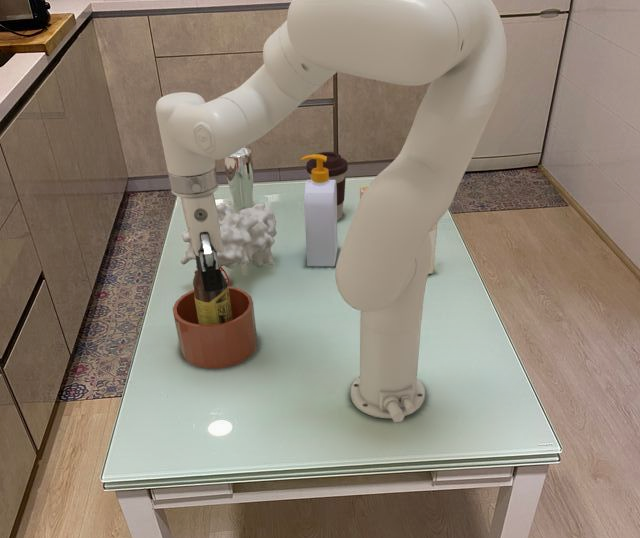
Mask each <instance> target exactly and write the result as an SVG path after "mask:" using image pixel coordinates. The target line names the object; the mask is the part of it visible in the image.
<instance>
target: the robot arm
mask: <svg viewBox="0 0 640 538" xmlns="http://www.w3.org/2000/svg"><path fill="white" fill-rule="evenodd" d="M507 45H508V44H507V37H506V32H505V27H504V24H503V21H502V18H501V15H500V13H499V11H498V9H497V7H496V5H495V4H494V2H493V0H291V2H290V4H289V5H288V10H287V15H286V20H285V21H284V22H283V23H282V24H281V25H280V26H279V27H278V28H277V29H276V30H275V31H274V32H273V33H272V34H271V35H270V36H268V37H267V39H266V40H265V42H264V44H263V48H262V60H263V64H262V65H261V66H260V67H259V68H258V69H257V70H256V71H255V72H254V73H253V74H252V75H251V76H250V77H249V78H248V79H246V81H244V82H243V83H242V84H241V85H239V87H237V88H235V89H233V90H230V91H229V92H226V93H225V94H222V95H221V96H218V97H216V98H214V99H212V100H209V101H207V102H206V101H205V99H204V97H203V96H202V95H200V94H198V93H196V92H189V91H183V92H182V91H180V92H173V93H168V94H166V95H163V96H161V97H160V98H159V99H158V100H157V101H156V104H155V113H156V114H155V115H156V120H157V125H158V129H159V134H160V139H161V144H162V149H163V154H164V160H165V165H166V170H167V175H168V180H169V184H170V185H169V186H170V191H171V193H172V195H174V196H175V197H179V198H180V201H181V206H182V207H181V208H182V212H183V215H184V221H185V225H186V228H187V229H186V230H187V231H188V233H189V236H190V239H191V243H192V246H193V249H194V252H195V255H197V256H200V261H201V266H202V270H201V275H202V280H203V286H204V291H205V292H211V291H217V290H222V289H223V283H222V277H221V272H222V271H220V270H221V269H220V267H219V266H218V261H217V256H216V252H217V253H219V252H220V253H222V252H223V251H224V248H223V243H222V237H221V231H220V225H219V219H218V213H217V207H216V206H217V203H216V199H215V195H214V193H215V192H216V191H218V189H219V186H220V185H219V179H218V172H217V166H216V161H220V160H221V161H222V160H225V158H227V157H229V156H231V155H232V154H234V153H236V152H237V151H239V150H241V149H242V148H246V147H247V146H249V145H250V144H252V143H254V142H256V141H258V140H259V139H261V138H262V137H264V136H265V135H267V134H268V133H269V132H270V131H272V130H273V129H274V128H275V127H276V126H277V125H279V123H281V122H282V121H284V119H286V118H288V116H289V115H291V113H293V112H294V111H295V110H296V109H297V108H298V107H299V106H300V105H301V104H302V103H303V102H306V101H307V100H308V98H309V97H310V96H311V95H313V94H314V93H315V92H317V90H319V88H321V87H322V86H323V85H324V84H326V82H327V81H328V80H330V79H331V78H332V77H333V76H334V75H335V74H337V73H342V74H346V75H349V76H350V75H351V76H356V77H359V78H364V79H369V80H373V81H379V82H383V83H388V84H393V85H398V86H405V87H416V86H423V85H426V84H429V83H430V85H429V86H428V89H427V91H426V93H425V95H424V97H423V99H422V101H421V103H420V104H419V106H418V109H417V111H416V114H415V116H414V120H413V122H412V125H411V127H410V130H409V132H408V135H407V137H406V139H405V141H404V144H403V146H402V148H401V149H400V152H399V154H398V155H397V156H396V158H394V159H393V161H392V162H391V163H390V164H389V165H388V166H387V167H385V168H384V169H382V171H380V172H379V173H378V174H377V175H376V176H375V177H374V178H373V179H372V180H371V181H370V183H368V184H367V186H368V187H367V188H366V190H365V191H364V193H363V195H362V197H361V199H360V198H359V200H358V203H357V205H356V208H355V211H354V214H353V216H352V219H351V222H350V225H349V227H348V230H347V232H346V236H345V237H344V241H343V243H342V246H341V249H340V252H339V255H338V257H337V259H336V263H335V270H334V271H335V272H334V273H335V274H334V276H335V283H336V288H337V290H338V293H339V295H340V296H341V298H342V299H343V301H344V302H345V303H346V304H347V305H349V306H350V307H351V308H353V309H354V310H357V311H359V312H360V319H359V321H360V322H359V323H360V325H359V326H360V327H359V376H358V377H357V378H355V380H354V381H353V382H352V384H351V386H350V399H351V401H352V403H353V405H354V406H355V408H357V410H360V411H361V412H362V413H364V414H366V415H369V416H372V417H375V418H380V419H392V421H393V422H394V423H396V424H397V423H401V422H403V420H404V419H405V417H406V416H410V415H411V414H414V413H415V412H417V411H418V410H419V409H420V408H421V407H422V405H423V404H424V401H425V398H426V397H425V396H426V390H425V386H424V384H423V383H422V382H421V380H420V379H419V378H418V371H419V370H418V369H419V368H418V367H419V356H420V346H421V331H422V322H423V321H422V320H423V310H424V299H425V294H426V293H425V292H426V287H427V286H426V285H427V282H428V277H429V274H428V272H429V267H430V262H431V254H432V245H431V238H430V235H429V232H430V230H431V229H432V228H433V227H434V226H435V225H436V223H437V222H438V223H439V222H440V220H441V219H442V218H443V217H444V215H445V214H446V213H447V211H449V209H450V208H451V205H452V203H453V201H454V198H455V196H456V194H457V191H458V189H459V186H460V184H461V182H462V180H463V177H464V176H465V173H466V171H467V169H468V166H469V165H470V162H471V160H472V159H473V156H474V154H475V152H476V149H477V147H478V144H479V142H480V141H481V138H482V135H483V133H484V131H485V129H486V127H487V124H488V123H489V120H490V118H491V116H492V113H493V111H494V109H495V107H496V104H497V102H498V100H499V96H500V94H501V90H502V88H503V87H502V86H503V84H504V80H505V74H506V70H507V69H506V67H507V57H508V47H507ZM438 223H437V224H438ZM211 248H213V250H211ZM202 249H203V250H204V251H203V252H201V250H202ZM215 250H216V251H215ZM203 257H205V260H203ZM213 258H214V259H213Z"/></svg>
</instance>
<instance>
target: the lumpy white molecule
mask: <svg viewBox="0 0 640 538" xmlns="http://www.w3.org/2000/svg"><path fill="white" fill-rule="evenodd" d="M254 204H255V205H254V206H253V207H252V208H247V209H242V210H241V211H240V213H239V214H237V213H236V212H235V210H234V208H233V207H232V205H230V204H225V203H224V202H221V203H219V204H216V207H217V213H218V219H219V225H220V231H221V237H222V243H223V248H224V251H223V252H222V253H220V252H219V253H217V260H218V264H219V267H220V270H221V272H222V273H223V274H224V275H225V277H226V278H225V280H226V281H227V283H228V286H230V281H231V280H230V277H229V274H228V273H227V272H226V270H225V269H224V268H223V267H226V268H228V269H229V270H234V268H235V264H239V265H242V266H243V265H245V264H249V262H252V261H253V263H254V264H255V266H256V267H258V268H260V267H262V265H265V264H266V265H269V266H274V265H275V260H274V258H273V257H274V256H273V252H272V249H271V248H272V246H273V245H274V244H275V241H276V240H275V239H274V238H275V237H276V235H277V233H278V232H277V229H276V226H277V219H276V216H275V212H274V211H273V210H270V209H269V208H266V205H265V204H264V203H254ZM265 208H266V209H265ZM181 237H182V241H183V243H188V244H187V250H186V251H185V253H184V254H185V255H184V256H183V257H181V259H180V264H181V265H183V266H184V265H186V264H187V263H189V262H190V261H192V260H193V261H194V260H195V261H196V257H195V254H194V251H193V246H192V243H191V239H190V236H189V233H188V230H187V231H183V232H182V233H181ZM196 273H197V269H196V270H195V271H194V275H195V274H196Z"/></svg>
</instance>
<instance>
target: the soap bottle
mask: <svg viewBox="0 0 640 538" xmlns="http://www.w3.org/2000/svg"><path fill="white" fill-rule="evenodd" d="M311 159H316V160H317V168H314V169H312V170H311V171H312V180H309V179H306V181H305V185H304V191H303V192H304V194H303V195H304V196H303V201H304V202H303V205H304V206H303V209H304V228H305V229H304V231H305V249H306V250H305V251H306V265H307V267H336V263H337V256H338V246H339V245H338V220H337V185H336V180H329V170H328V169H327V168H324V167H323V161H324V162H326V159H327V156H324V155H320V154H317V153H315V154H307V155H305V156H303V157H301V159H300V161H301V162H304V161H306V160H311Z"/></svg>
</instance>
